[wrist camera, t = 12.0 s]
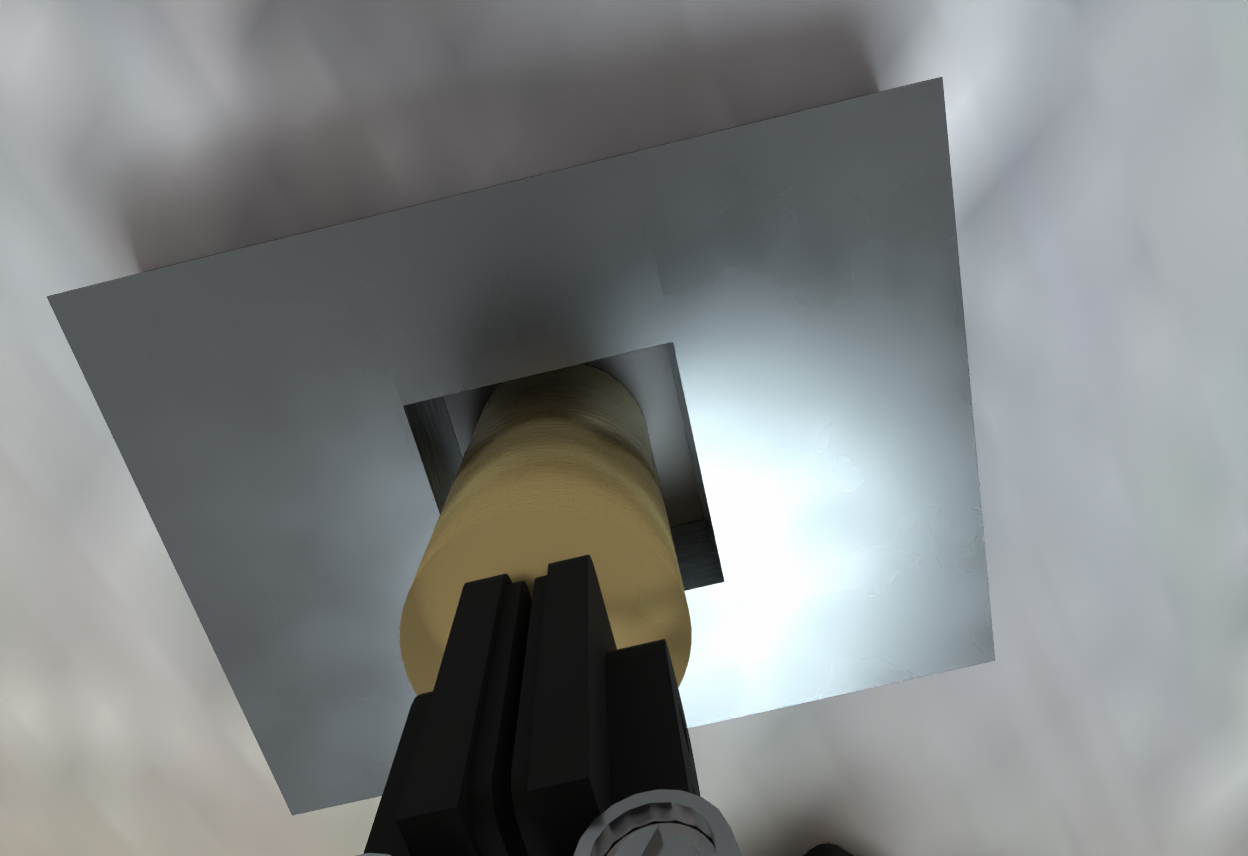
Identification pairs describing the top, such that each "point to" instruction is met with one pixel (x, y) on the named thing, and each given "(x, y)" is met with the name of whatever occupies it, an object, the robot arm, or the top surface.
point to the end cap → (827, 851)
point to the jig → (552, 339)
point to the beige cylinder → (553, 515)
